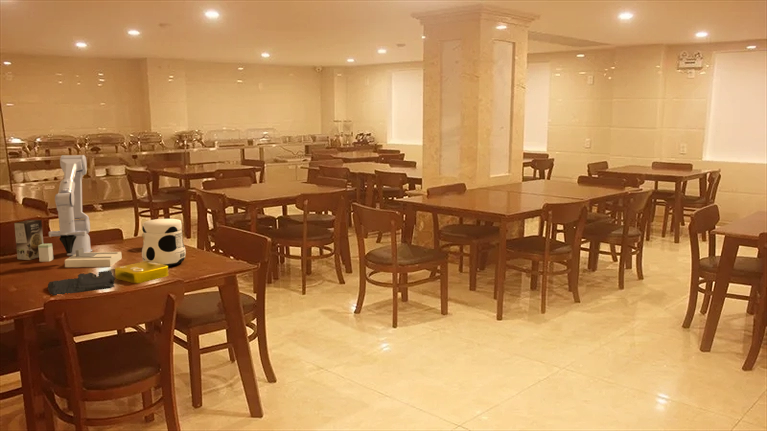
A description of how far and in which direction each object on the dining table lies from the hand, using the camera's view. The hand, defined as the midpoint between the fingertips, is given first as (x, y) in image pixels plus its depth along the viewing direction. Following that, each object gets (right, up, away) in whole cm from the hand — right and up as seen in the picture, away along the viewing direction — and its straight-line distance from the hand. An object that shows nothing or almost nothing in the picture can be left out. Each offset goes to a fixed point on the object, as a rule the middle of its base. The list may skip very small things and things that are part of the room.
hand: (69, 253), depth 261 cm
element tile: (+38, -9, -20) cm, 44 cm away
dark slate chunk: (+22, -11, -34) cm, 41 cm away
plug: (-13, -4, +6) cm, 14 cm away
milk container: (+40, -5, 0) cm, 40 cm away
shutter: (+7, -1, +1) cm, 7 cm away
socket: (+9, -4, +1) cm, 10 cm away
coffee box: (-22, -3, +11) cm, 25 cm away
